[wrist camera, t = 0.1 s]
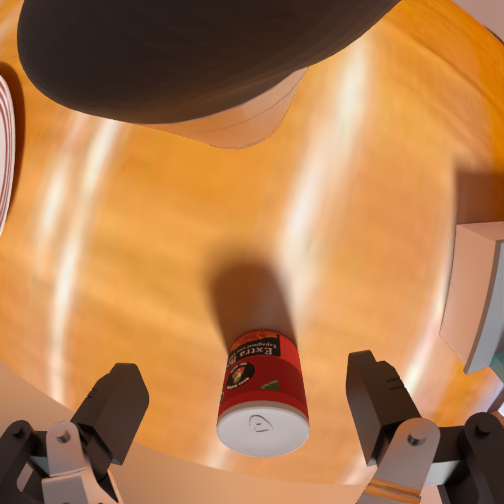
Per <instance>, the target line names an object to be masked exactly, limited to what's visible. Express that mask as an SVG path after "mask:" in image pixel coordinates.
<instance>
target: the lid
mask: <svg viewBox="0 0 504 504" xmlns="http://www.w3.org/2000/svg"><path fill="white" fill-rule="evenodd" d="M488 366H490V367H491V368H492V370H493V371H494V372H495V373H496V374H497V376H498V377H499V378H500V379H501V381H502V382H503V383H504V239H502V240H496V244H495V251H494V258H493V265H492V271H491V276H490V281H489V286H488V291H487V295H486V300H485V304H484V308H483V312H482V316H481V319H480V323H479V326H478V330H477V333H476V336H475V339H474V342H473V345H472V348H471V351H470V354H469V357H468V360H467V362H466V365H465V368H464V370H463V371H464V373H465V374H466V375H469V374H471V373H474V372H476V371H478V370H481V369H483V368H486V367H488Z"/></svg>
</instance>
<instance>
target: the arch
mask: <svg viewBox="0 0 504 504" xmlns="http://www.w3.org/2000/svg"><path fill="white" fill-rule="evenodd" d="M489 413H490V414H493V415H494V416H496V417H497V418H498V419H499V421H500V422H501V424H502V426H503V427H504V417H503V416H502V415H501V414H500V413H499V412H498V411H493V412H489Z"/></svg>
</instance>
